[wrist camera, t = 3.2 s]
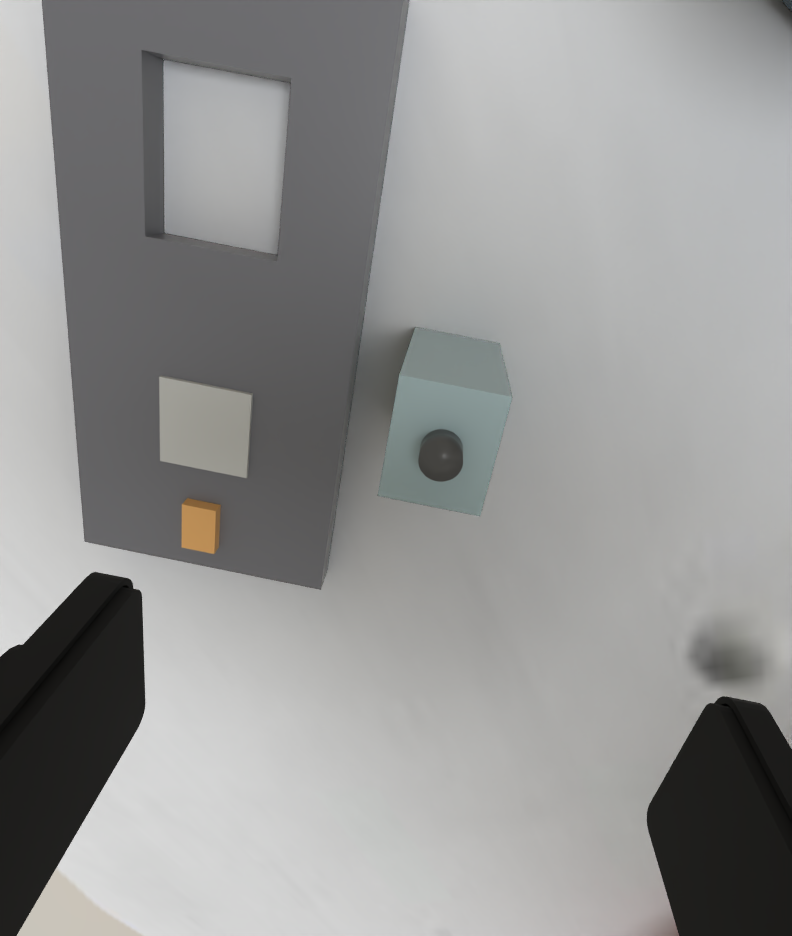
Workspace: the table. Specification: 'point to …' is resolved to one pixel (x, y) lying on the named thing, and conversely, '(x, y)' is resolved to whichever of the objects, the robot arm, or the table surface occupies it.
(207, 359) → the outlet plate
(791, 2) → the canister
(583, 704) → the table surface
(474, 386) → the block
